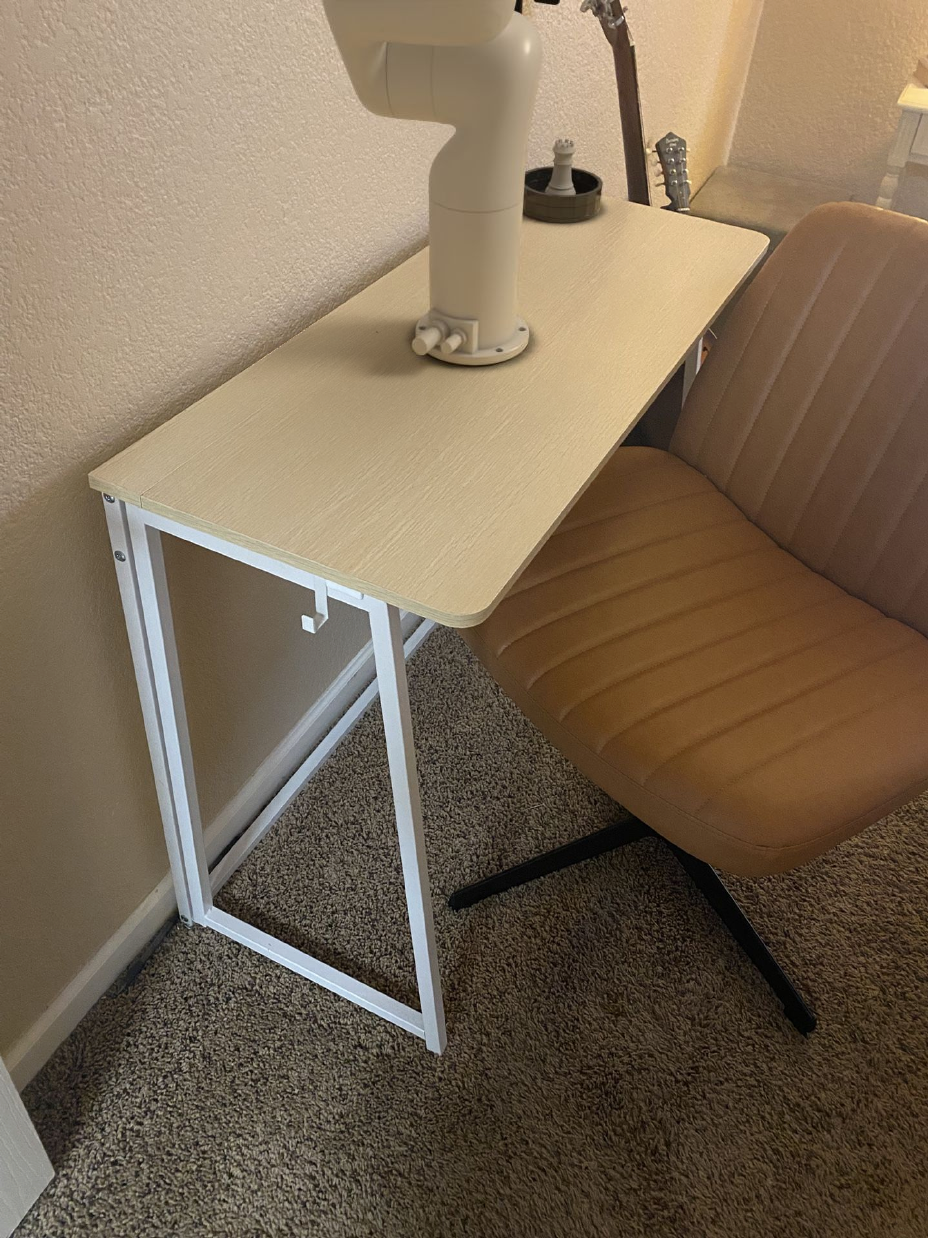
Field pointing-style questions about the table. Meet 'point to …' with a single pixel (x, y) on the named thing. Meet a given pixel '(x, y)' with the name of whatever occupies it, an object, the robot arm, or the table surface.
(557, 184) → the rook chess piece
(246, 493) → the table surface
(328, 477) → the table surface
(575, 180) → the pan
